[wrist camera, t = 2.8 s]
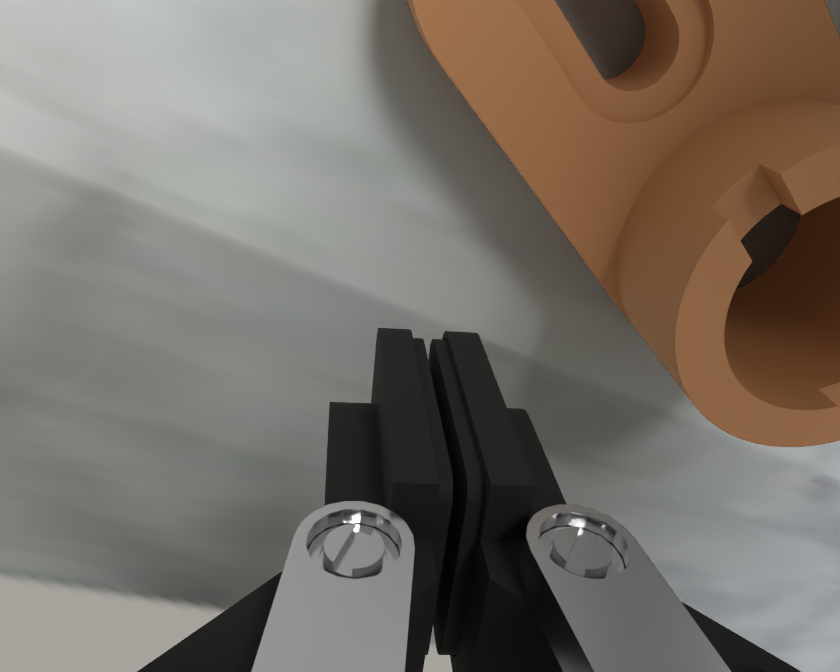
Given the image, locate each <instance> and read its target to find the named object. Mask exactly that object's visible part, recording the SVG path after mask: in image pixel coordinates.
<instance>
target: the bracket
mask: <svg viewBox="0 0 840 672" xmlns="http://www.w3.org/2000/svg"><path fill="white" fill-rule="evenodd" d="M634 1H635V3H636V5H637V6H638V8H639V10H640V12H641V14H642V16H643V19H644V23H645V40H644V44H643V47H642V50H641V52H640V54H639V56H638V58H637V59H636V61H635V62H634V63H633V64H632V66H631V67H629V68H628V69H627V70H626V71H625V72H623V73H622V74H620V75H618V76H615V77H613V78H608V79H603V77H602V76H601V74H600V73H599V71H598V70H597V68H596V66H595V65H594V63H593V62H592V60H591V58H590V57H589V55H588V53H587V52H586V50H585V49H584V47H583V45H582V44H581V42H580V41H579V39H578V37H577V36H576V34H575V32H574V31H573V29H572V28H571V26H570V24H569V23H568V21H567V20H566V18H565V16H564V15H563V13H562V11H561V10H560V8H559V7H558V5H557V3H556V2H555V0H407V2H408V6H409V9H410V12H411V15H412V17H413V20H414V22H415V25H416V27H417V29H418V31H419V33H420V35H421V37H422V39H423V41H424V43H425V44H426V46H427V48H428V49H429V51H430V52H431V54H432V55H433V57H434V58H435V59H436V61H437V62H438V63H439V65H440V66H441V68H442V69H443V70H444V72H445V73H446V74H447V76H448V77H449V78H450V80H451V81H452V82H453V84H454V85H455V87H456V88H457V89H458V91H459V92H460V93H461V95H462V96H463V97H464V99H465V100H466V101H467V103H468V104H469V106H470V107H471V108H472V110H473V111H474V112H475V114H476V115H477V116H478V118H479V119H480V120H481V122H482V123H483V125H484V126H485V127H486V129H487V130H488V131H489V133H490V134H491V135H492V137H493V138H494V139H495V141H496V142H497V144H498V145H499V146H500V148H501V149H502V150H503V152H504V153H505V154H506V156H507V157H508V158H509V160H510V161H511V163H512V164H513V165H514V167H515V168H516V169H517V171H518V172H519V173H520V175H521V176H522V178H523V179H524V180H525V182H526V183H527V184H528V186H529V187H530V188H531V190H532V191H533V192H534V194H535V195H536V197H537V198H538V199H539V201H540V202H541V203H542V205H543V206H544V207H545V209H546V210H547V211H548V213H549V214H550V216H551V217H552V218H553V220H554V221H555V222H556V224H557V225H558V226H559V228H560V229H561V230H562V232H563V233H564V235H565V236H566V237H567V239H568V240H569V241H570V243H571V244H572V245H573V247H574V248H575V249H576V251H577V252H578V254H579V255H580V256H581V258H582V259H583V260H584V262H585V263H586V264H587V266H588V267H589V268H590V270H591V271H592V273H593V274H594V275H595V277H596V278H597V279H598V281H599V282H600V283H601V285H602V286H603V288H604V289H605V290H606V292H607V293H608V294H609V296H610V297H611V298H612V299H613V301H614V302H615V303H616V305H617V306H618V307H619V308H620V310H621V311H622V312H623V314H624V315H625V316H626V317H627V319H628V320H629V321H630V323H631V324H632V325H633V327H634V328H635V329H636V330H637V332H638V333H639V334H640V336H641V337H642V338H643V339H644V341H645V342H646V343H647V345H648V346H649V347H650V348H651V350H652V351H653V352H654V354H655V355H656V356H657V358H658V359H659V360H660V361H661V363H662V364H663V365H664V367H665V368H666V369H667V370H668V372H669V373H670V374H671V376H672V377H673V378H674V379H675V381H676V382H677V383H678V385H679V386H680V387H681V388H682V390H683V391H684V392H685V394H686V395H687V396H688V398H689V399H690V400H691V401H692V403H693V404H694V405H695V407H696V408H697V409H698V410H699V411H700V412H701V413H702V414H703V415H704V416H705V417H706V418H707V419H708V420H709V421H710V422H712V423H713V424H714V425H715V426H717V427H718V428H720V429H722V430H723V431H725V432H727V433H729V434H731V435H733V436H735V437H738V438H740V439H742V440H746V441H749V442H753V443H756V444H762V445H768V446H778V447H803V446H812V445H820V444H825V443H830V442H835V441H839V440H840V36H839V34H838V31H837V29H836V27H835V24H834V22H833V20H832V17H831V15H830V13H829V10H828V8H827V6H826V3H825V1H824V0H634ZM780 204H782V205H784V206H786V207H788V208H790V209H791V210H793V211H795V212H797V213H799V214H800V215H801V217H800V220H799V223H798V226H797V228H796V230H795V233H794V235H793V237H792V238H791V240H790V242H789V244H788V245H787V247H786V248H785V249H784V251H783V252H782V254H781V255H780V256H779V257H778V258H777V260H776V261H775V262H774V263H773V264H772V265H771V266H770V267H769V268H768V269H767V270H765V271H764V272H763V273H762V274H761V275H759V276H758V277H757V278H755V279H754V280H753V281H751V282H749V283H748V284H746V285H744V286H743V287H741V288H739V289H737V290H736V288H737V285H738V284H739V282H740V280H741V278H742V277H743V275H744V273H745V272H746V270H747V269H748V267H749V266H750V264H751V263H752V260H751V258H750V256H749V255H748V253H747V251H746V250H745V248H744V246H743V244H742V243H741V239H742V238H743V237H744V236H745V235H746V234H747V233H748V232H749V231H750V229H751V228H752V227H753V226H754V225H755V224H757V223H758V222H759V221H760V220H761V219H762V218H763V217H764V216H766V215H767V214H768V213H770V212H771V211H772V210H774V209H775V208H776V207H778V206H779V205H780Z"/></svg>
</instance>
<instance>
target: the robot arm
mask: <svg viewBox="0 0 840 672" xmlns="http://www.w3.org/2000/svg"><path fill="white" fill-rule="evenodd" d="M433 626H434V634H435V641H436V648H437V652H438V654H439V655H450V657H451V663H452V669H453V672H800V671H799V670H797V669H796V668H794V667H792V666H791V665H789V664H787V663H786V662H784V661H782V660H780V659H779V658H777V657H775V656H774V655H772V654H770V653H768V652H767V651H765V650H763V649H762V648H760V647H758V646H756V645H755V644H753V643H751V642H750V641H748V640H746V639H744V638H743V637H741V636H739V635H738V634H736V633H734V632H732V631H731V630H729V629H727V628H726V627H724V626H722V625H720V624H719V623H717V622H715V621H714V620H712V619H710V618H708V617H707V616H705V615H703V614H702V613H700V612H698V611H696V610H695V609H693V608H691V607H689V606H688V605H686V604H684V603H683V602H681V601H680V600H679V598H678V597H677V596H676V594H675V593H674V591H673V590H672V589H671V587H670V586H669V585H668V583H667V582H666V580H665V579H664V578H663V576H662V575H661V573H660V572H659V571H658V569H657V568H656V566H655V565H654V564H653V562H652V561H651V560H650V558H649V557H648V555H647V554H646V553H645V551H644V550H643V548H642V547H641V546H640V544H639V543H638V542H637V540H636V539H635V537H634V536H633V535H632V534H631V533H630V532H629V531H628V530H627V529H626V528H625V527H624V526H623V525H622V524H620V523H619V522H617V521H616V520H614V519H613V518H611V517H610V516H608V515H606V514H604V513H601V512H599V511H597V510H594V509H592V508H587V507H583V506H579V505H566V502H565V500H564V498H563V495H562V493H561V491H560V488H559V486H558V484H557V481H556V479H555V476H554V474H553V472H552V469H551V467H550V465H549V462H548V460H547V458H546V455H545V453H544V451H543V448H542V446H541V444H540V441H539V439H538V437H537V434H536V432H535V430H534V427H533V425H532V423H531V420H530V418H529V416H528V414H527V412H526V411H525V410H523V409H513V408H506V405H505V402H504V400H503V397H502V395H501V392H500V389H499V387H498V384H497V382H496V379H495V376H494V374H493V371H492V368H491V366H490V363H489V361H488V358H487V355H486V353H485V350H484V347H483V345H482V342H481V340H480V337H479V335H478V333H467V332H448V331H445V332H444V334H443V338H442V340H439V339H432V341H431V345H430V352H429V360H428V358H427V353H426V349H425V344H424V340H423V339H419V338H413V337H412V332H411V330H408V329H389V328H378V332H377V341H376V353H375V365H374V376H373V388H372V400H371V403H345V402H330V408H329V427H328V447H327V467H326V488H325V506H324V507H322V508H320V509H317V510H315V511H313V512H312V513H311V514H310V515H308V516H307V517H306V518H305V519H304V520H303V521H302V522H301V523H300V525H299V527H298V529H297V530H296V532H295V534H294V537H293V540H292V543H291V546H290V550H289V553H288V556H287V559H286V562H285V566H284V569H283V571H282V572H280V573H279V574H278V575H276V576H275V577H273V578H272V579H270V580H269V581H267V582H266V583H265V584H263V585H262V586H260V587H259V588H257V589H256V590H254V591H253V592H252V593H250V594H249V595H247V596H246V597H244V598H243V599H241V600H240V601H239V602H237V603H236V604H234V605H233V606H231V607H230V608H229V609H227V610H226V611H224V612H223V613H221V614H220V615H218V616H217V617H216V618H214V619H213V620H211V621H210V622H208V623H207V624H206V625H204V626H203V627H201V628H200V629H198V630H197V631H195V632H194V633H192V634H191V635H190V636H188V637H187V638H185V639H184V640H182V641H181V642H179V643H178V644H177V645H175V646H174V647H172V648H171V649H169V650H168V651H166V652H165V653H164V654H162V655H161V656H160V657H158V658H156V659H155V660H154V661H152V662H151V663H149V664H148V665H146V666H145V667H143V668H142V669H140V670H139V671H138V672H423V666H424V659H425V655H427V654H428V651H429V645H430V639H431V633H432V627H433Z"/></svg>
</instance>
